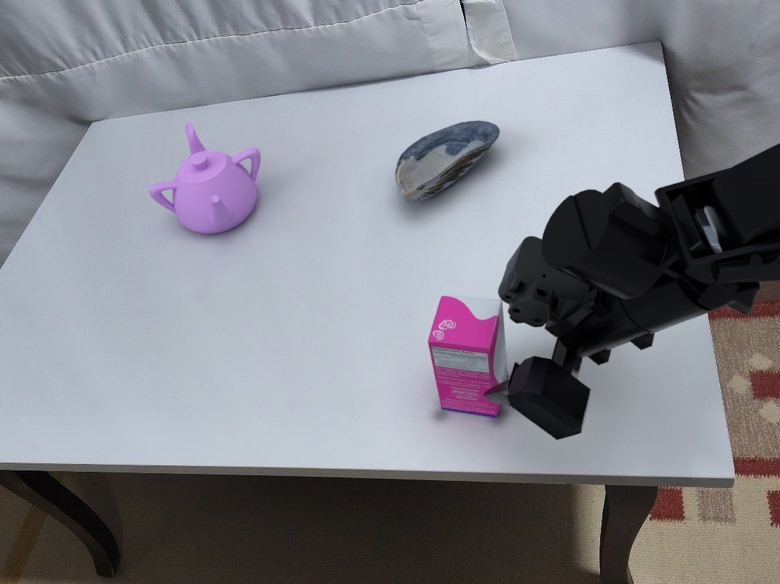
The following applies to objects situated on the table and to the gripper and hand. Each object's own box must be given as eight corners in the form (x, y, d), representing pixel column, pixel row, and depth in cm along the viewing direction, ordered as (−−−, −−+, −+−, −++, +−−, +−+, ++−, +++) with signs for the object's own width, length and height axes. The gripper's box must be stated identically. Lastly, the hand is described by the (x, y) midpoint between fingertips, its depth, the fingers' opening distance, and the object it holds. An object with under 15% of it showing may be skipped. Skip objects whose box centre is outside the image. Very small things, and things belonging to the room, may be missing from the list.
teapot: (208, 172, 108) (186, 120, 101) (286, 192, 102) (269, 138, 95) (157, 227, 103) (132, 177, 96) (236, 252, 97) (214, 199, 90)
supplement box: (451, 364, 79) (441, 291, 70) (509, 372, 76) (506, 297, 67) (437, 410, 76) (426, 339, 67) (498, 420, 73) (494, 348, 64)
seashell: (500, 217, 90) (499, 185, 86) (395, 224, 93) (389, 193, 89) (500, 135, 98) (499, 103, 94) (404, 144, 102) (399, 113, 98)
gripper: (592, 149, 59) (463, 234, 72) (536, 331, 50) (400, 391, 63) (687, 233, 62) (547, 300, 75) (650, 420, 53) (498, 460, 66)
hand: (500, 357), depth 70 cm, fingers open, 9 cm apart
